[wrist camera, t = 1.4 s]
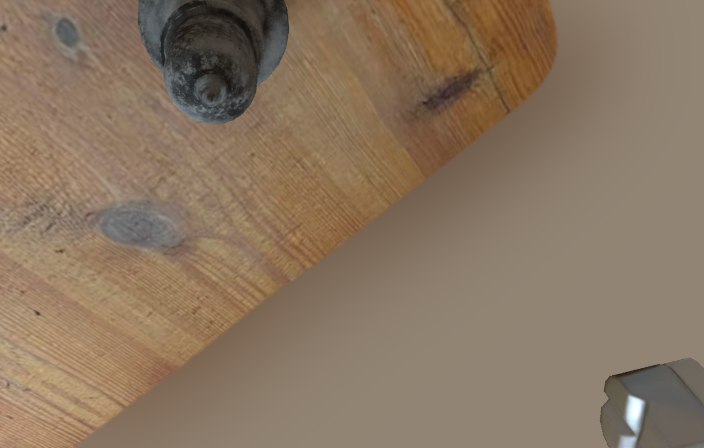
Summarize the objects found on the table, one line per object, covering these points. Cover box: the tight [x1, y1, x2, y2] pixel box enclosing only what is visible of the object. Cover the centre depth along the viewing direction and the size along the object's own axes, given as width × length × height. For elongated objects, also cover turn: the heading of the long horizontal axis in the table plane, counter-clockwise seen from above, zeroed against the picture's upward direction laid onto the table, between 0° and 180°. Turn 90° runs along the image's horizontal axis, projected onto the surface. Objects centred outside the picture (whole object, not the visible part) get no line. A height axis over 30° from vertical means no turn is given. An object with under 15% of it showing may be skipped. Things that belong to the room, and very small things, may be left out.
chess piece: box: [138, 0, 289, 124], centre depth 22 cm, size 6×6×12 cm
